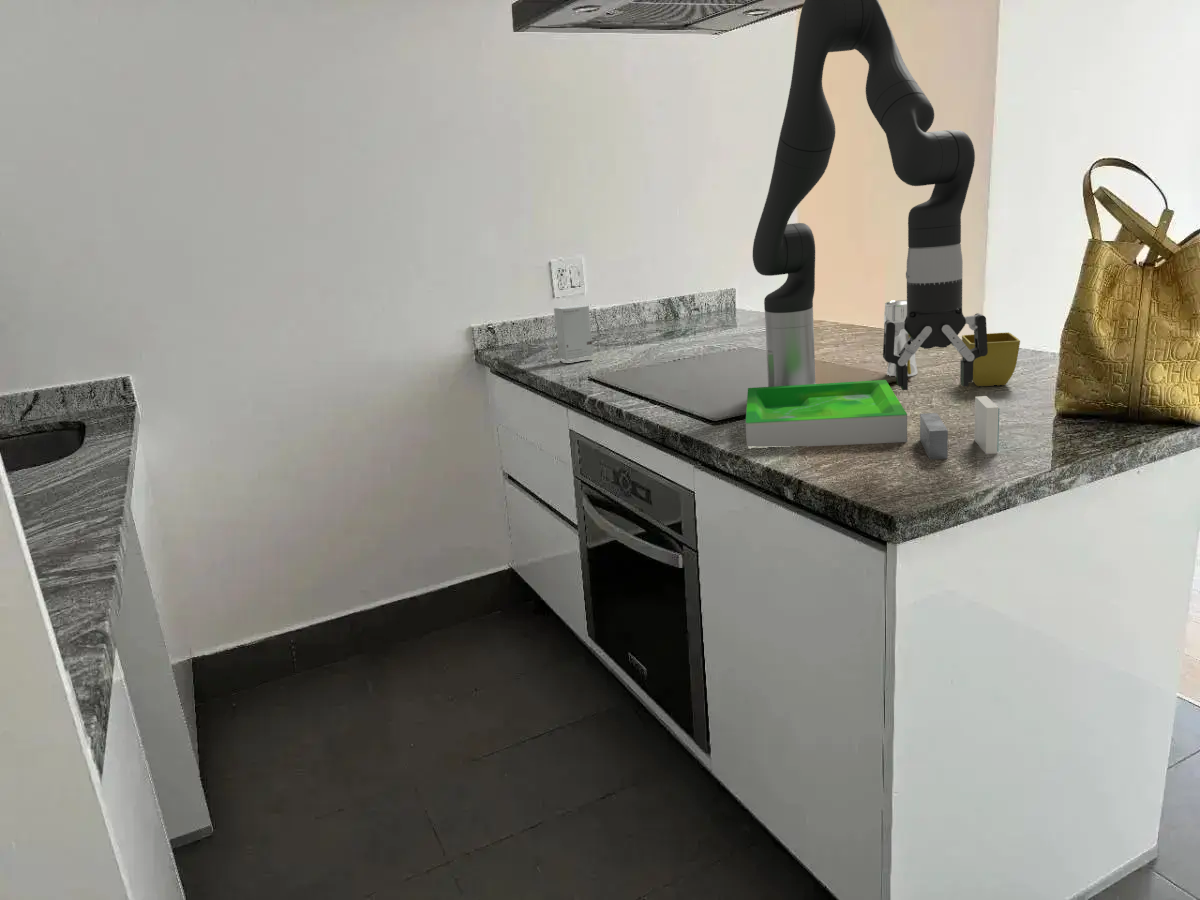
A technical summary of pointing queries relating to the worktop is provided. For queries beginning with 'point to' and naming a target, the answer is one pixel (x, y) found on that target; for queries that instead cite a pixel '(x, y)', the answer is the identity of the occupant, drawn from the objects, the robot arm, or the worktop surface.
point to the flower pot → (994, 359)
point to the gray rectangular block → (934, 436)
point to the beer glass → (898, 313)
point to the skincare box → (573, 331)
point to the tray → (825, 415)
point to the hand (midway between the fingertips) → (934, 387)
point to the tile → (986, 424)
